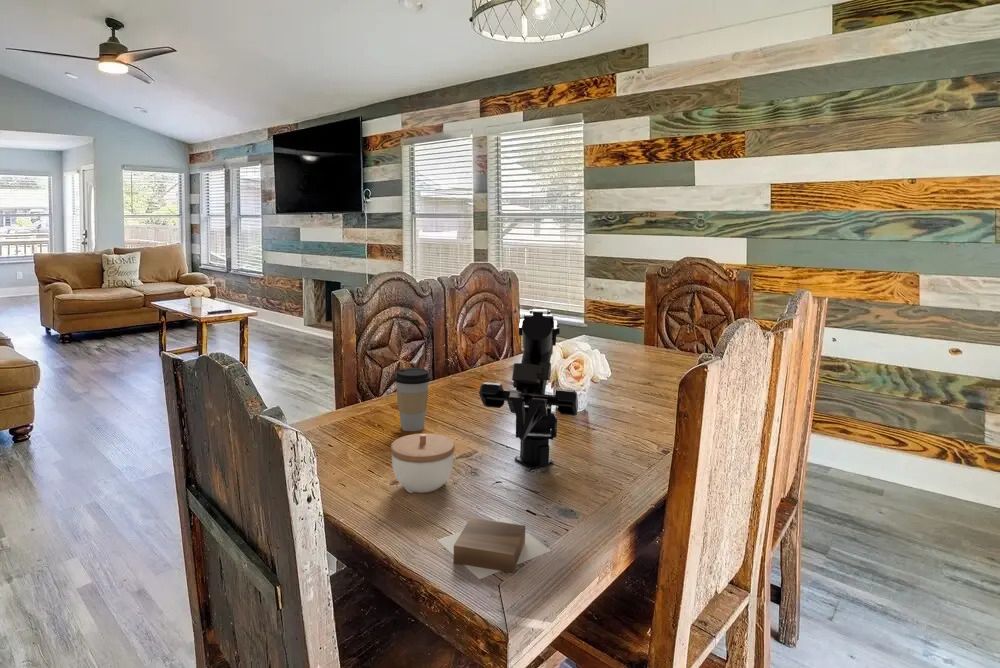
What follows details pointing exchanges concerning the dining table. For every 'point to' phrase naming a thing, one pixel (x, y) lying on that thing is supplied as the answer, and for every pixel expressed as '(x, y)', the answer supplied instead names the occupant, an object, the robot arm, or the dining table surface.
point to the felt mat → (528, 552)
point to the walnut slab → (490, 545)
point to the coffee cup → (412, 397)
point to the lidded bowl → (422, 461)
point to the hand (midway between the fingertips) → (521, 438)
